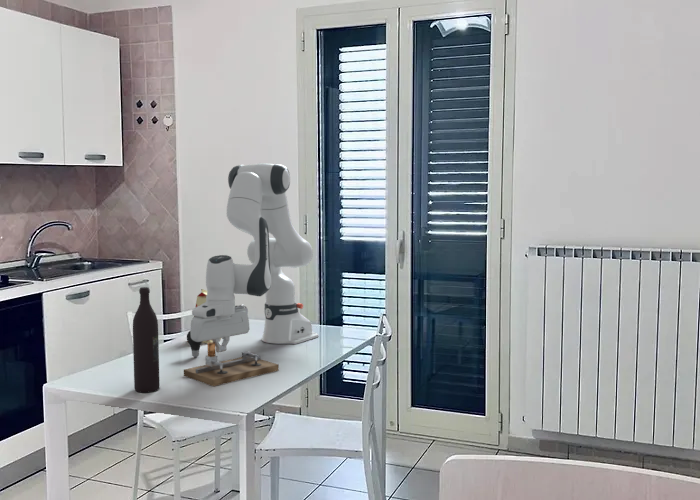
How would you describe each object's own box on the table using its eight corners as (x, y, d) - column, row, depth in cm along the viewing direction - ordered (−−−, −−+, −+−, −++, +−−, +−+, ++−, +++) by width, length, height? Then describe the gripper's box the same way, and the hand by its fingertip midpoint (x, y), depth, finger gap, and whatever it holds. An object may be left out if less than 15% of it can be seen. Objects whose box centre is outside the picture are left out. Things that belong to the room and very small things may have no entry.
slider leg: (212, 367, 223) (212, 341, 223) (225, 371, 219) (224, 345, 218) (206, 368, 222) (205, 342, 221) (218, 372, 217) (218, 346, 216)
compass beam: (256, 358, 236) (256, 349, 235) (269, 362, 231) (269, 352, 231) (194, 372, 218) (194, 362, 218) (206, 376, 214) (206, 366, 214)
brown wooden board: (247, 361, 240) (247, 355, 240) (278, 370, 229) (278, 364, 228) (183, 375, 222) (183, 369, 222) (213, 386, 211) (213, 379, 211)
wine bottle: (157, 392, 204) (154, 289, 201) (132, 393, 204) (129, 289, 201) (161, 385, 211) (159, 285, 208) (137, 386, 211) (134, 286, 208)
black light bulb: (199, 359, 242) (199, 330, 241) (184, 359, 243) (183, 330, 242) (206, 355, 247) (205, 327, 246) (191, 355, 248) (190, 326, 247)
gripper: (241, 302, 232) (241, 344, 233) (187, 310, 217) (188, 355, 218) (253, 305, 227) (253, 347, 229) (199, 313, 213) (199, 358, 214)
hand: (221, 351), depth 223 cm, fingers closed
